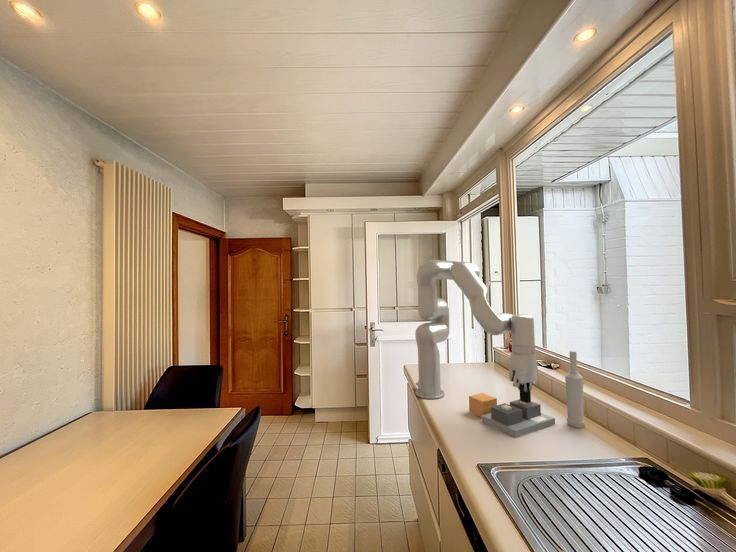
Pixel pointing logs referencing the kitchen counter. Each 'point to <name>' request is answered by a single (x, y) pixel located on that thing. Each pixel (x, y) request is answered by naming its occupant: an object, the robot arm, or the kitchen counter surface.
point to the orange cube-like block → (481, 404)
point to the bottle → (574, 394)
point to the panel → (519, 426)
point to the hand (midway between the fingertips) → (525, 401)
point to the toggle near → (506, 407)
